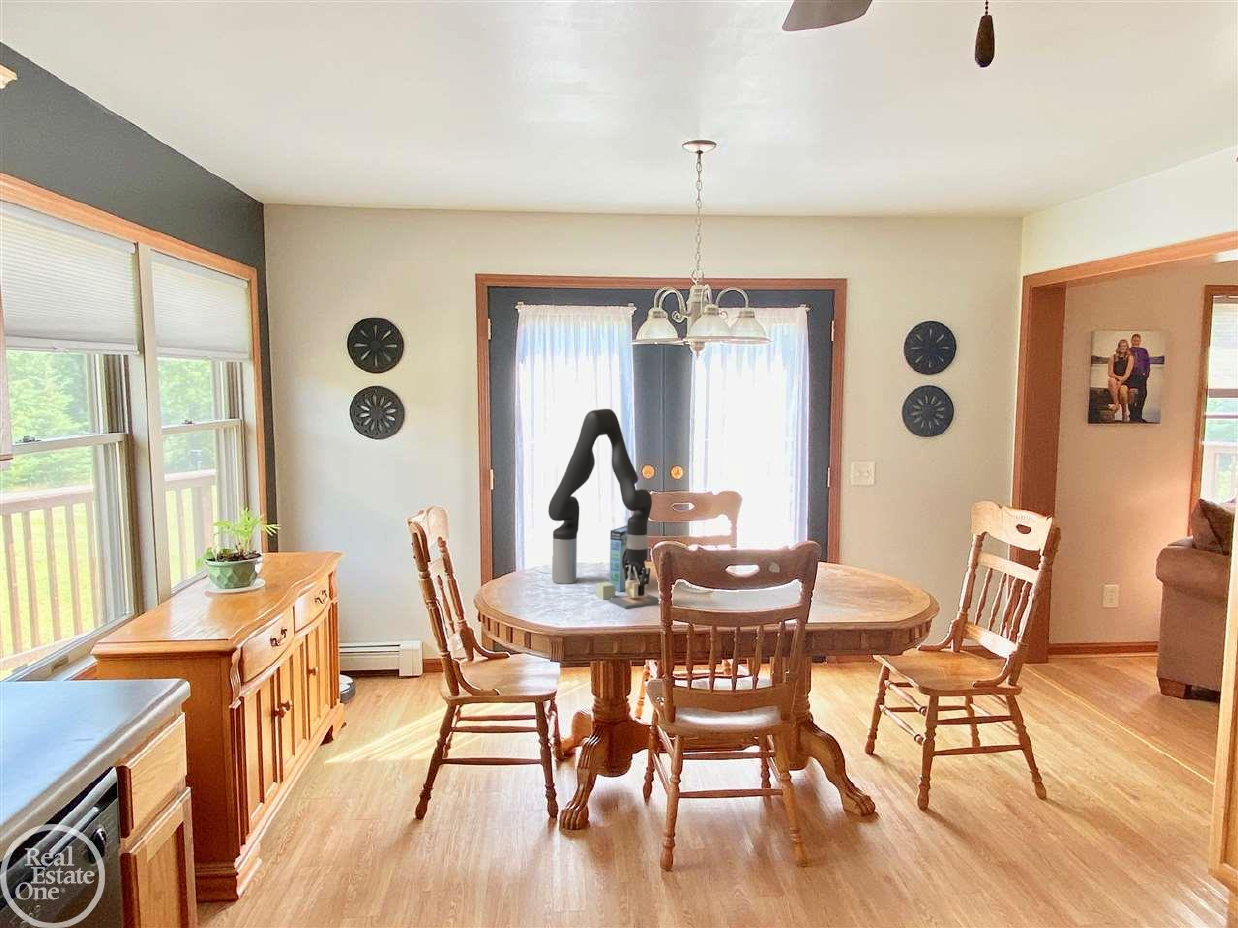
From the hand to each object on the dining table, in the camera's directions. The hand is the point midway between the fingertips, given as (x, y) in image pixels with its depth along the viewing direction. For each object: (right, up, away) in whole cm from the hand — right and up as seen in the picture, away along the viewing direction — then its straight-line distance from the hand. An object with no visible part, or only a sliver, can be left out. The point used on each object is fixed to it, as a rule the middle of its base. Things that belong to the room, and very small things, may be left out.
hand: (636, 593), depth 286 cm
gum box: (-3, -1, +24) cm, 24 cm away
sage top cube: (-11, -3, +6) cm, 13 cm away
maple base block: (0, -1, 0) cm, 1 cm away
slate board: (0, -3, 0) cm, 3 cm away
